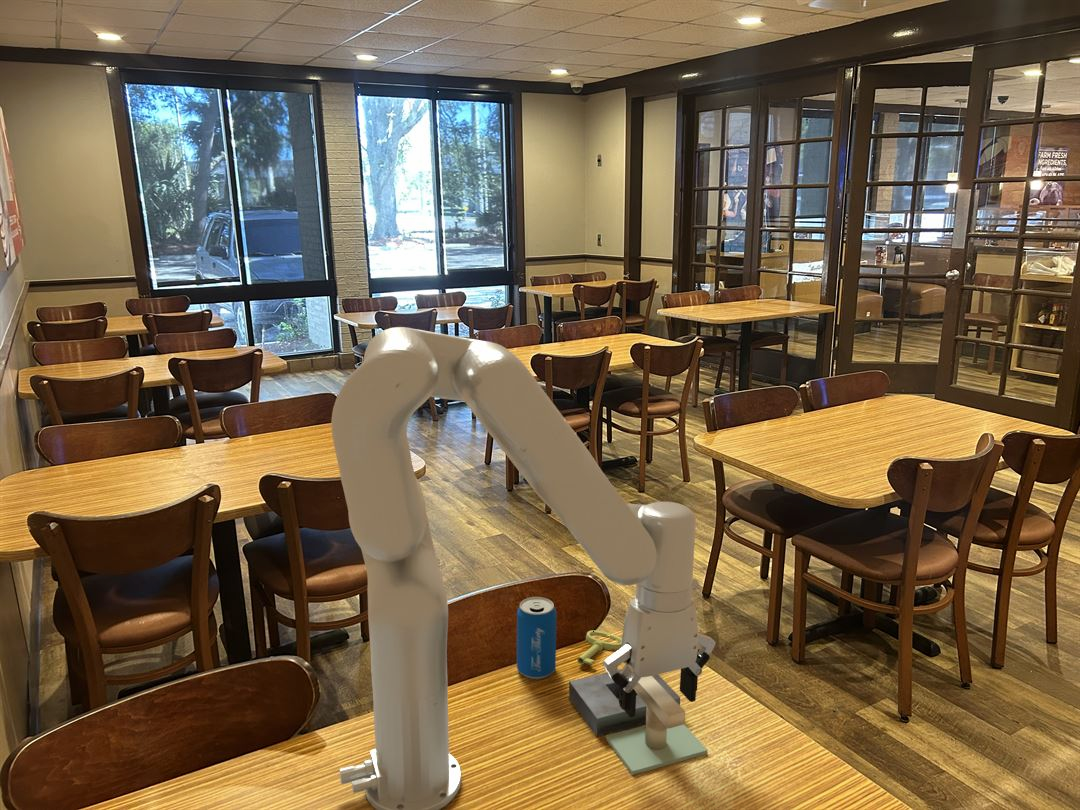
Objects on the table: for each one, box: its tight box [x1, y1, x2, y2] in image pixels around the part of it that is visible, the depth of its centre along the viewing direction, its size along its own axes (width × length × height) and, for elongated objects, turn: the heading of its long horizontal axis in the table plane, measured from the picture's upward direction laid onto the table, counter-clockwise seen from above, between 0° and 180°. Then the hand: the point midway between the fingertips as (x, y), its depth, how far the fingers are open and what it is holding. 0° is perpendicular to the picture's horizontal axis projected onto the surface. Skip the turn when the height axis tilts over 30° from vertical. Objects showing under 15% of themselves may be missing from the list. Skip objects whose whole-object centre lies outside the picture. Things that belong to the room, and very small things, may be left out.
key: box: [577, 629, 622, 666], centre depth 134 cm, size 7×12×2 cm, turn 167°
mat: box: [605, 724, 708, 776], centre depth 110 cm, size 12×8×1 cm, turn 112°
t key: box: [633, 676, 686, 750], centre depth 109 cm, size 10×3×8 cm, turn 22°
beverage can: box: [516, 596, 557, 680], centre depth 127 cm, size 6×6×12 cm
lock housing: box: [568, 668, 681, 737], centre depth 119 cm, size 14×10×3 cm
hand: (658, 703), depth 108 cm, fingers open, 9 cm apart
